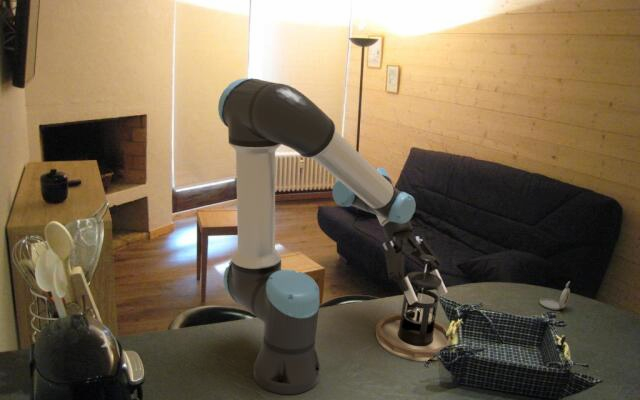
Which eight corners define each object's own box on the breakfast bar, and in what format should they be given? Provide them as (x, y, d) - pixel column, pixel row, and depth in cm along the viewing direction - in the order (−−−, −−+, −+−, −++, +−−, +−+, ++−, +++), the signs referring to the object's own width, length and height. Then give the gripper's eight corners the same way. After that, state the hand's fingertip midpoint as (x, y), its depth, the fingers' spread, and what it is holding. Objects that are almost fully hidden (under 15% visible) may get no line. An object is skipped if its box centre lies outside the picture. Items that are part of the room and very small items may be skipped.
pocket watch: (536, 299, 171) (543, 271, 169) (563, 303, 170) (570, 275, 168) (543, 311, 164) (550, 282, 161) (571, 315, 163) (578, 285, 160)
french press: (439, 347, 135) (453, 265, 129) (404, 348, 134) (417, 264, 127) (423, 324, 146) (435, 247, 140) (391, 324, 145) (401, 246, 138)
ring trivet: (413, 369, 126) (415, 360, 126) (360, 331, 142) (361, 323, 141) (467, 348, 138) (469, 340, 137) (413, 315, 153) (414, 307, 153)
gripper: (415, 223, 151) (449, 294, 143) (354, 233, 138) (387, 312, 130) (432, 210, 146) (467, 284, 138) (369, 219, 132) (405, 302, 125)
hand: (428, 298), depth 134 cm, fingers open, 10 cm apart
